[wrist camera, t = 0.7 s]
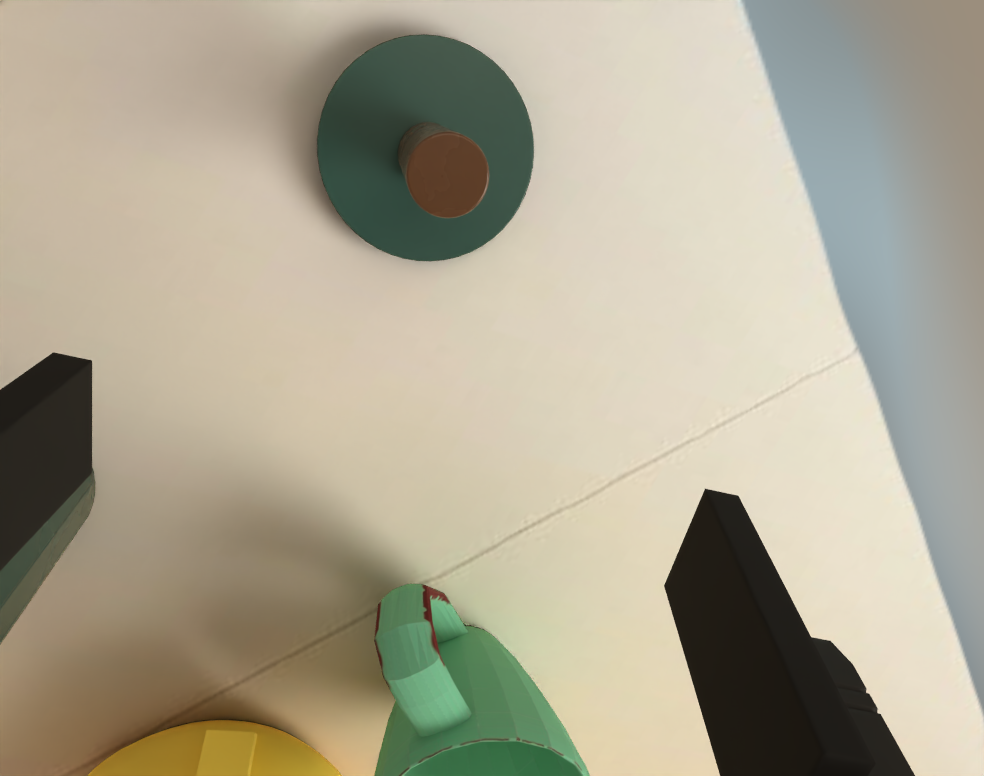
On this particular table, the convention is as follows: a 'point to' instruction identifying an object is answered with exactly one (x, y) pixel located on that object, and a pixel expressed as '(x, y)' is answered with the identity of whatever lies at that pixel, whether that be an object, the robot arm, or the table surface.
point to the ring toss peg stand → (425, 147)
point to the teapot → (217, 753)
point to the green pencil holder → (41, 555)
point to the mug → (460, 698)
